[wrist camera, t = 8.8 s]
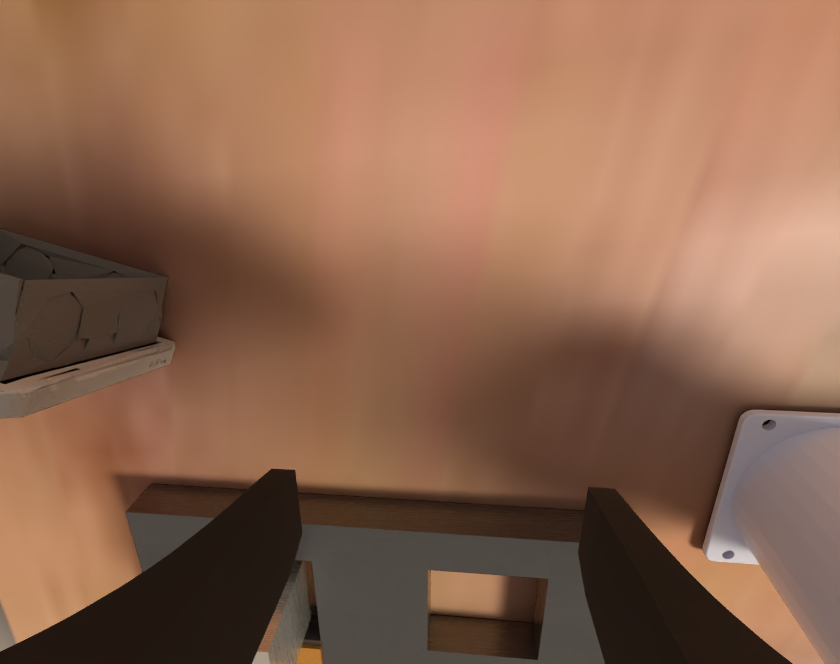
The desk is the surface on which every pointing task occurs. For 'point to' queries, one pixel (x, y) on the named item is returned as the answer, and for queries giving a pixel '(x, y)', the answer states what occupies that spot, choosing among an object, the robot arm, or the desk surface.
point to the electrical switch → (72, 324)
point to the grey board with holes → (407, 574)
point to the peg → (289, 618)
